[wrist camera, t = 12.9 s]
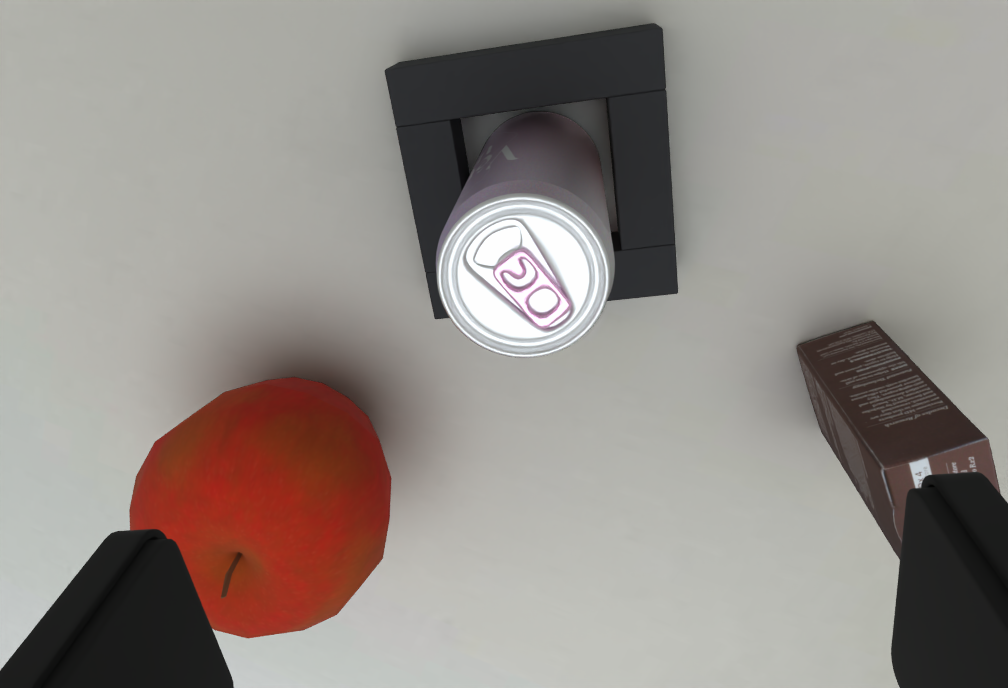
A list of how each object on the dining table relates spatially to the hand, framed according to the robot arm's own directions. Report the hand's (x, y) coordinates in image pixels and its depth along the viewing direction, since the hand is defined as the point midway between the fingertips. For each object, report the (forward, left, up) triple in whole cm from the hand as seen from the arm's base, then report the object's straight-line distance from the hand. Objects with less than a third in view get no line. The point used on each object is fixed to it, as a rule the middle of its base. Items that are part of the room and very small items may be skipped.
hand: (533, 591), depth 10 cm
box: (+15, +14, -31) cm, 37 cm away
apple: (+15, -16, -31) cm, 38 cm away
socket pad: (+2, -1, -31) cm, 31 cm away
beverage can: (+2, -1, -31) cm, 31 cm away
